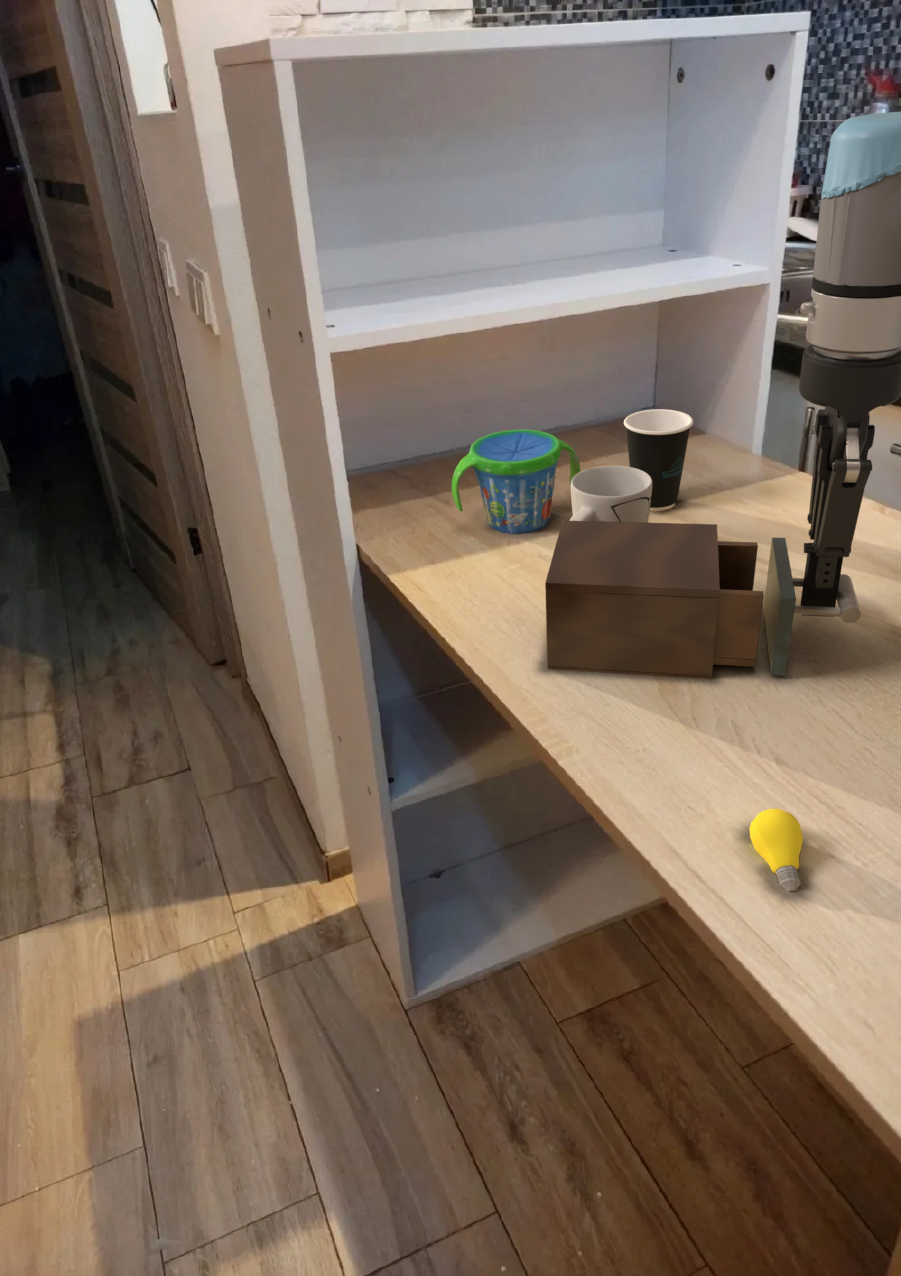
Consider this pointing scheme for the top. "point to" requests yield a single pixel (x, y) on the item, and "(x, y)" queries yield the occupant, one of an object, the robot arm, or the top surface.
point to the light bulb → (779, 844)
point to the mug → (611, 494)
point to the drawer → (745, 605)
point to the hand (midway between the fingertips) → (816, 611)
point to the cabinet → (633, 598)
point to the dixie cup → (659, 451)
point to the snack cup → (515, 477)
